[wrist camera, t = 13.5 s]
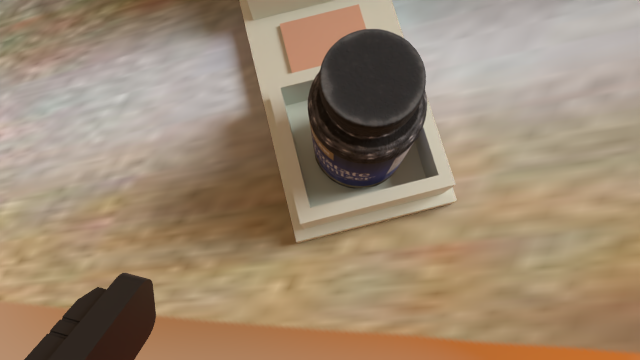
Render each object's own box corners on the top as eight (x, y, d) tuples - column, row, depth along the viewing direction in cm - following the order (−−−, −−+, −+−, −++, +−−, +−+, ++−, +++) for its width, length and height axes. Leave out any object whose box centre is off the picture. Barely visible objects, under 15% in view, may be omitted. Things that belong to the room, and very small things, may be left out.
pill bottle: (297, 161, 29) (274, 97, 18) (343, 90, 30) (346, -10, 19) (375, 207, 28) (399, 169, 18) (420, 132, 29) (468, 52, 19)
